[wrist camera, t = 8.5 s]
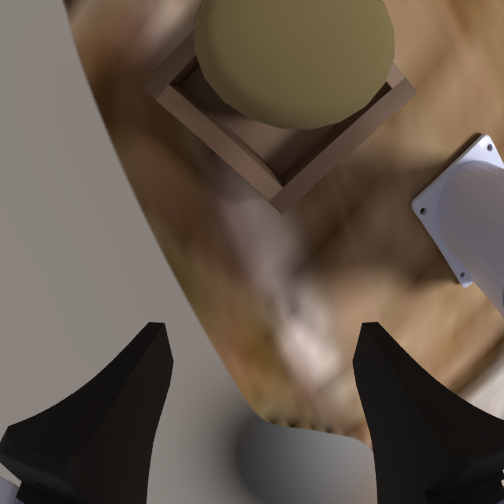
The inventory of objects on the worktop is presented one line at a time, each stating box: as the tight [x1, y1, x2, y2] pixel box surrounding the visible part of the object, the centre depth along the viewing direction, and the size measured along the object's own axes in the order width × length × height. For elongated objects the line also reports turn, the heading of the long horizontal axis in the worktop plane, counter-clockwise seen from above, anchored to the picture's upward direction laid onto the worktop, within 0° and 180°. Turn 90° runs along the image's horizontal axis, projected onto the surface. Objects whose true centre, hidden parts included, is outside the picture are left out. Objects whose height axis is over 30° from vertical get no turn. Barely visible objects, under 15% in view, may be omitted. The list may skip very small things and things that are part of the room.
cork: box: [195, 0, 394, 130], centre depth 10 cm, size 6×6×11 cm
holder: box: [142, 29, 417, 215], centre depth 15 cm, size 10×10×4 cm
